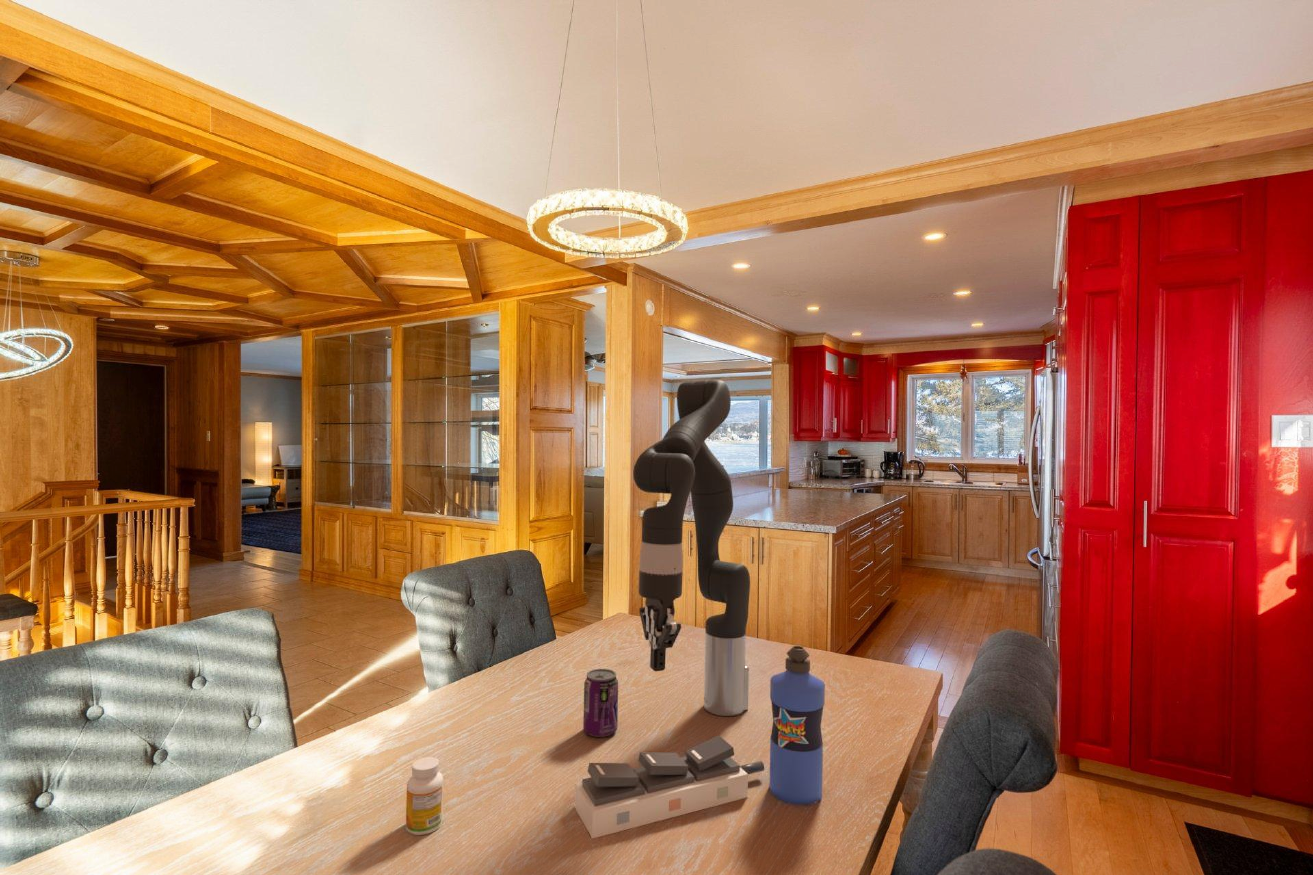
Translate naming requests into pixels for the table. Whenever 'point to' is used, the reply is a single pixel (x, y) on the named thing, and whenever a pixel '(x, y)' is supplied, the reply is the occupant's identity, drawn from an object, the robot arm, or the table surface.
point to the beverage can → (600, 703)
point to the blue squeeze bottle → (796, 732)
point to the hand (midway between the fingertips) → (657, 669)
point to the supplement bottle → (424, 797)
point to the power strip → (660, 796)
